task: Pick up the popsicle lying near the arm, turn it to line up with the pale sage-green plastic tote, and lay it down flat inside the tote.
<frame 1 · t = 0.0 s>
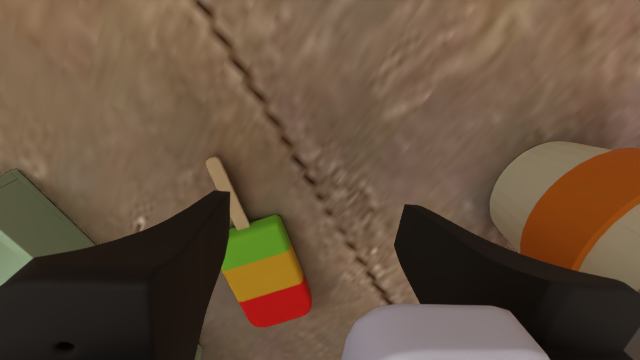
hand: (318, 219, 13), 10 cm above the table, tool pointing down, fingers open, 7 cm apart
tote: (64, 304, 25), on the table
popsicle: (253, 238, 25), on the table
reusable coffee cup: (539, 192, 26), on the table
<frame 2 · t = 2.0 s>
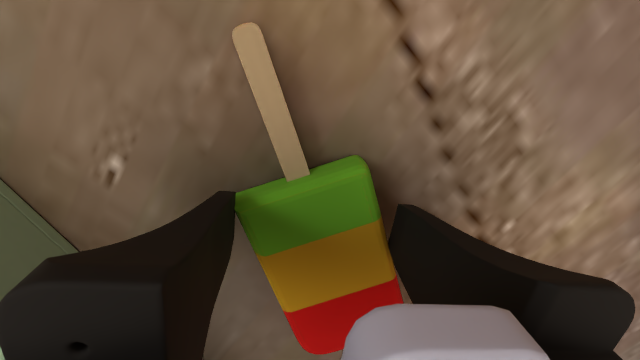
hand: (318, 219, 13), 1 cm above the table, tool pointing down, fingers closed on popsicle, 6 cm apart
popsicle: (309, 202, 14), on the table, touching gripper
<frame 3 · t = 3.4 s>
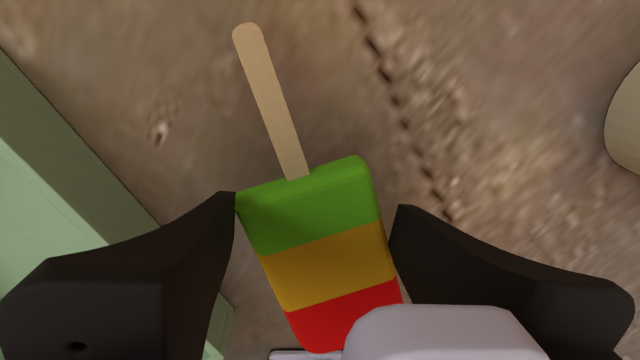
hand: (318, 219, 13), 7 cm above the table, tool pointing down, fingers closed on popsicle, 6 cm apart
tote: (61, 245, 19), on the table
popsicle: (309, 201, 14), point 5 cm above the table, touching gripper
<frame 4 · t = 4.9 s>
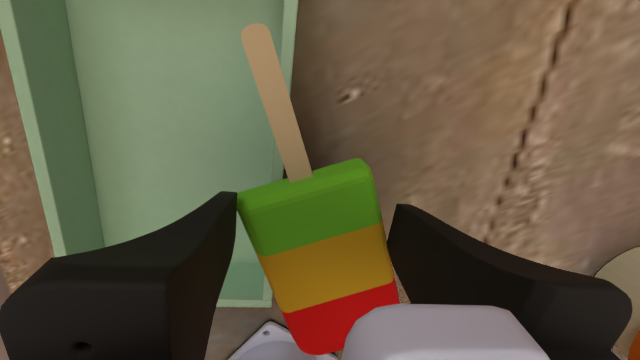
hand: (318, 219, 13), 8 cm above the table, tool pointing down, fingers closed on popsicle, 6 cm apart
tote: (185, 126, 19), on the table
popsicle: (310, 203, 14), point 6 cm above the table, touching gripper
reusable coffee cup: (628, 283, 29), on the table
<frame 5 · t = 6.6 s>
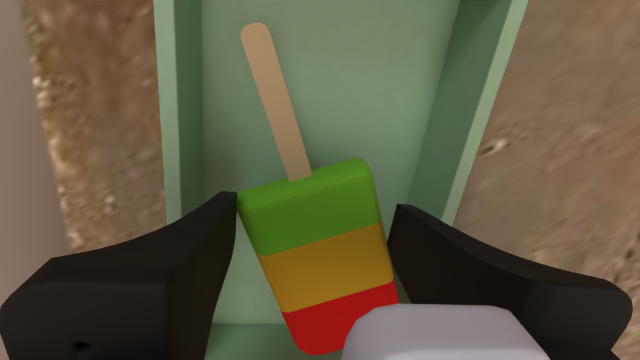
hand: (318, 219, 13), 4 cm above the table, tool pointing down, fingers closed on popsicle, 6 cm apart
tote: (310, 181, 16), on the table
popsicle: (310, 202, 14), point 2 cm above the table, touching gripper
when the fingers open (2 cm above the table, at t = 7.9 s): popsicle stays where it is, resting on tote.
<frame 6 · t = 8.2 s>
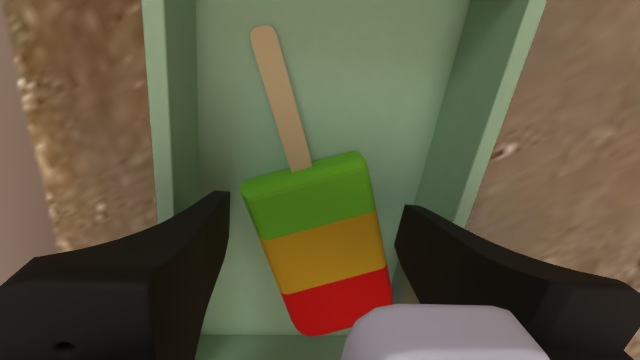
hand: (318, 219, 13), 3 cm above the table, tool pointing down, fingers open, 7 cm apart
tote: (311, 188, 16), on the table
popsicle: (310, 193, 15), resting on tote
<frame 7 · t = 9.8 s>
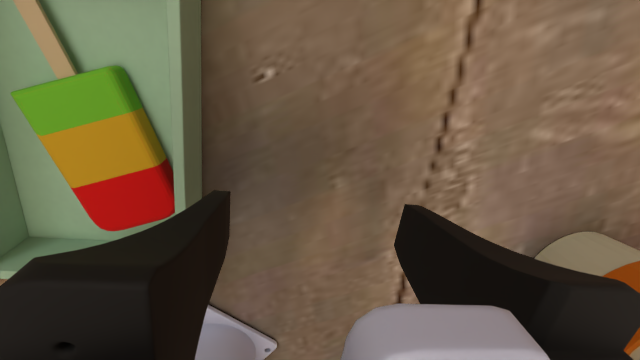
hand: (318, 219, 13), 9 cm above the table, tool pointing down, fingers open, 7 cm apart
tote: (100, 102, 19), on the table
popsicle: (96, 105, 19), resting on tote
reusable coffee cup: (566, 271, 29), on the table
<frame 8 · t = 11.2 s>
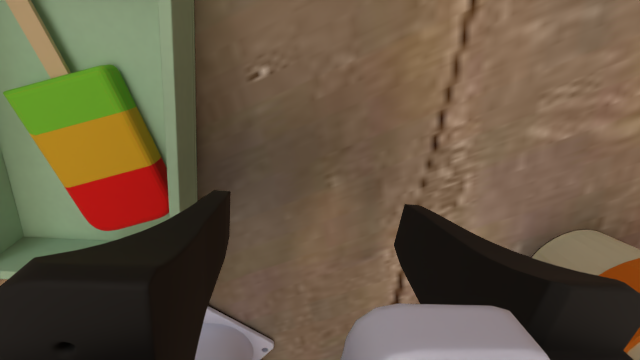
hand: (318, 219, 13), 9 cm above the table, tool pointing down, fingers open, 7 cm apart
tote: (94, 102, 19), on the table
popsicle: (90, 105, 19), resting on tote
reusable coffee cup: (564, 269, 29), on the table
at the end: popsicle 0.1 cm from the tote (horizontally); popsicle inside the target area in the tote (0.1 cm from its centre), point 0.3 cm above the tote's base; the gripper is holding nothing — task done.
